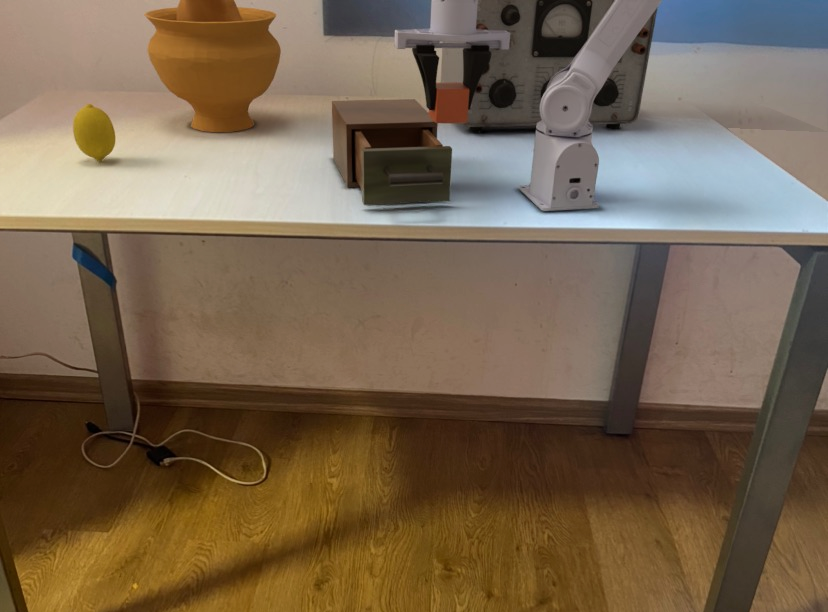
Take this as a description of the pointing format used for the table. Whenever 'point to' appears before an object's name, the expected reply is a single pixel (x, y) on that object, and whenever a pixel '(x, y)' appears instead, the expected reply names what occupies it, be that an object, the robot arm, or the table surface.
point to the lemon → (94, 132)
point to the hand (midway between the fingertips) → (448, 108)
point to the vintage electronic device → (546, 62)
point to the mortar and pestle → (214, 59)
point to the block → (450, 103)
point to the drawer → (401, 165)
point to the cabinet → (371, 125)
